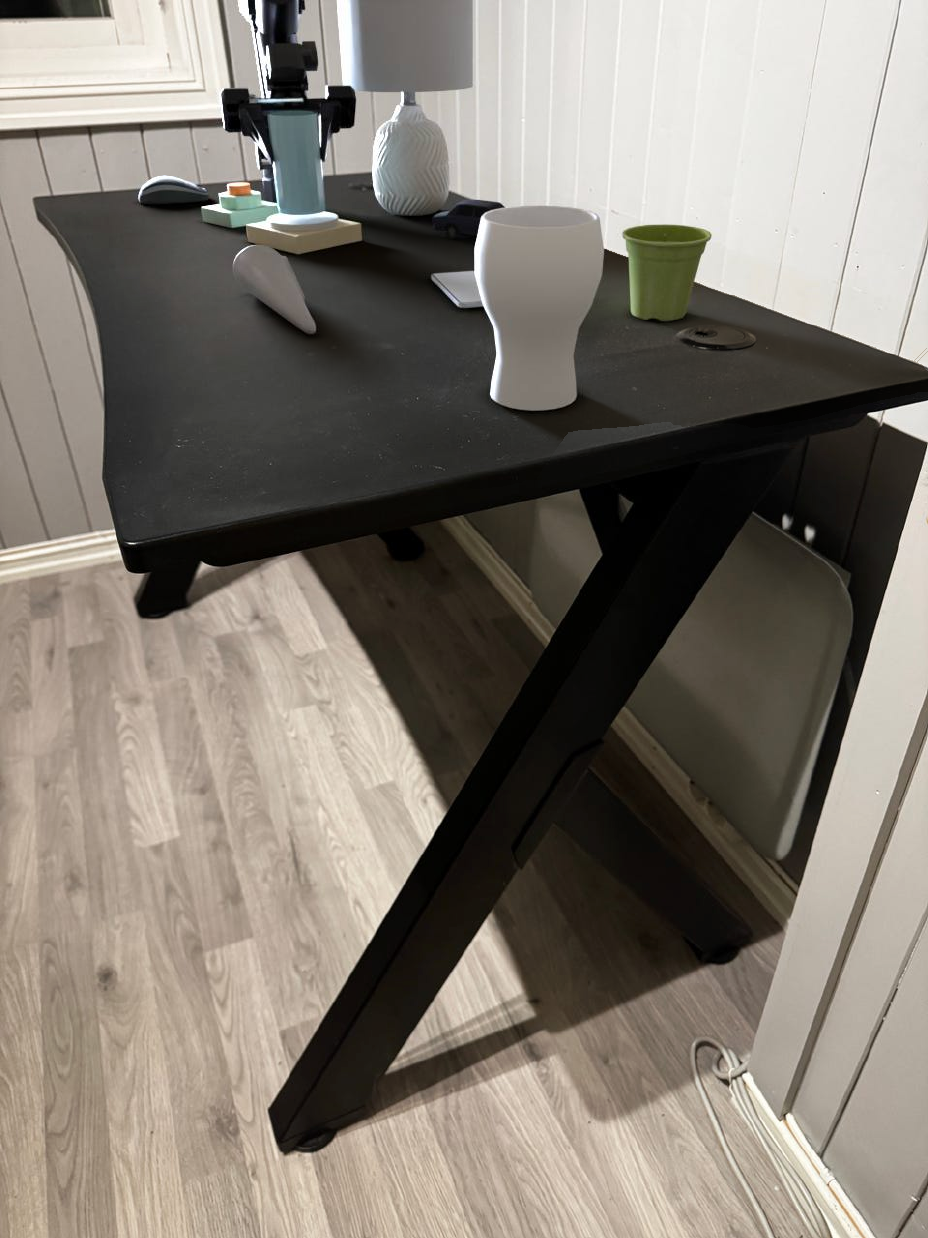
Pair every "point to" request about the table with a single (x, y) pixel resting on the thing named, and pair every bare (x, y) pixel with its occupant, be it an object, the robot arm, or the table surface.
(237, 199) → the button box
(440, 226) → the toy car
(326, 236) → the scale
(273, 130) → the tumbler
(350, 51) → the lamp
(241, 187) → the button
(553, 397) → the cup
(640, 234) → the plant pot
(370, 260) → the table surface
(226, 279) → the table surface
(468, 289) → the smartphone
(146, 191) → the computer mouse
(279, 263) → the long tapered cone
